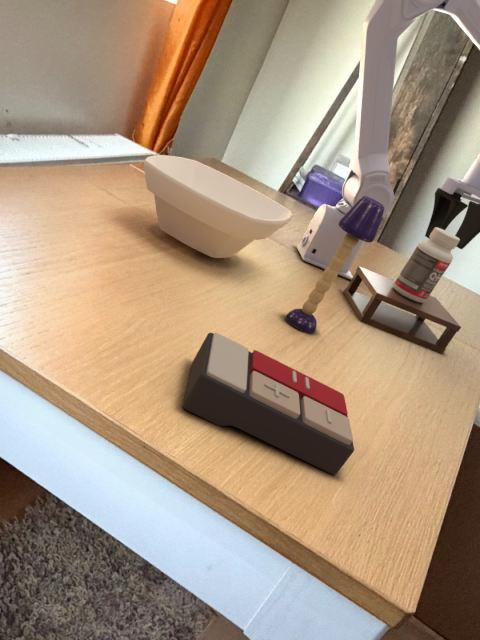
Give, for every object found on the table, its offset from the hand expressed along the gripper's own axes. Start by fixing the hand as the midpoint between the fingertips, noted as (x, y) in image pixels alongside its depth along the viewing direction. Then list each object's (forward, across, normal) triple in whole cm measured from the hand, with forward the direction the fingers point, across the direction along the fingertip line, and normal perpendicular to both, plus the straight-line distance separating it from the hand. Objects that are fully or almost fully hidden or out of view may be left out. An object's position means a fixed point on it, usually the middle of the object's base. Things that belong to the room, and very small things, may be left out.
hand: (443, 242), depth 126 cm
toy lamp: (+11, +43, +19) cm, 48 cm away
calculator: (+11, +67, +41) cm, 80 cm away
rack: (+10, +17, +12) cm, 23 cm away
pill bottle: (+6, +17, +12) cm, 22 cm away
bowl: (+11, +46, -4) cm, 48 cm away
